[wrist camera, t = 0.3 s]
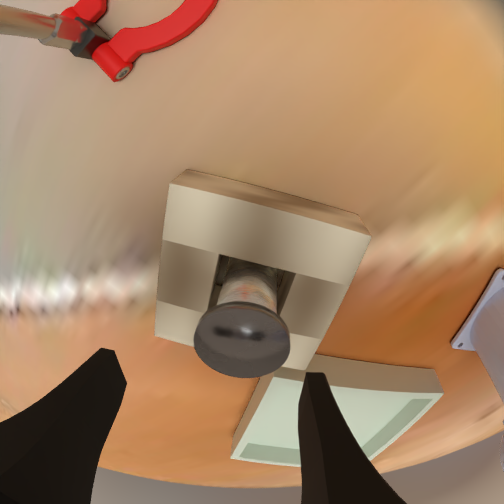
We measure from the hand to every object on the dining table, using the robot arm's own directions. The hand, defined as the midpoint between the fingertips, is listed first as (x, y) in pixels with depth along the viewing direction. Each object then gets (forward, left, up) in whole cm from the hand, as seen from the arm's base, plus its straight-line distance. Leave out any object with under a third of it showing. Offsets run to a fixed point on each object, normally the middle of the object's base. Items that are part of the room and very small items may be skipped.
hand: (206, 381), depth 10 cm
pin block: (-1, 0, -9) cm, 9 cm away
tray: (-12, +14, -9) cm, 21 cm away
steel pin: (-1, 0, -9) cm, 9 cm away
